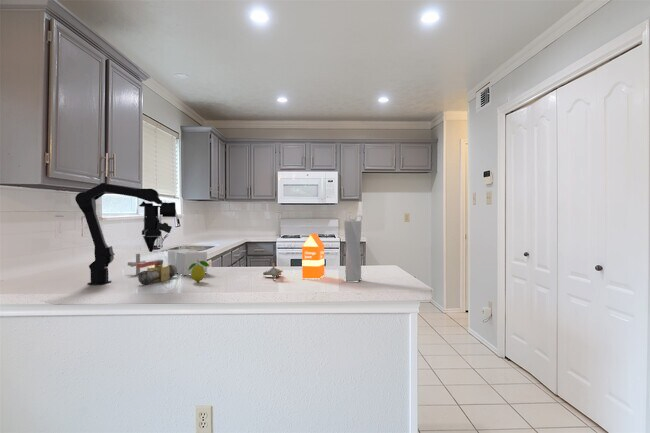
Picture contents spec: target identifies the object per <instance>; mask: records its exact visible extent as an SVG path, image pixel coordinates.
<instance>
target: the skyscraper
mask: <svg viewBox="0 0 650 433" xmlns="http://www.w3.org/2000/svg"><path fill="white" fill-rule="evenodd" d="M358 217H360V220H357V218H358ZM362 220H363V216H362V215H361V214H359V215H356V216H355V218H352V219H351V218H347V219H344V222H343V224H344V225H343V227H344V239H345V241H344V242H345V247H346V250H345V278H346V281H358V282H357V283H360V281H361V280H362V256H361V255H362V254H361V247H360V246H361V245H360V244H361V238H362ZM360 279H361V280H360ZM359 280H360V281H359Z"/></svg>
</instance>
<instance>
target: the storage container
mask: <svg viewBox="0 0 650 433" xmlns="http://www.w3.org/2000/svg"><path fill="white" fill-rule="evenodd" d="M199 261H205V262H207V263H208V251H200V250H196V249H193V250H191V249H190V248H185V249H181V248H180V249H169V250H167V265H174V266H175V267H176V269H177V273H178V274H177V273H176V274H177V275H180V274H182V275H181V276H183V275H189V274H191V271H192V269H193V268H191V269H190V270H189V267H190V266H191V265H192V264H193V263H197V264H199V265H201V264H200V262H199ZM197 264H196V265H197ZM201 266H202V267H203V268H204V271H205V272H207V273H208V266H203V265H201Z"/></svg>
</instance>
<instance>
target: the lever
mask: <svg viewBox="0 0 650 433" xmlns="http://www.w3.org/2000/svg"><path fill="white" fill-rule="evenodd" d="M156 264H163V265H164V259H156V260H151V261H146V262H145V263H139V264H137V268H140V269H141V268H148V267H152V266H155V265H156Z"/></svg>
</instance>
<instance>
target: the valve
mask: <svg viewBox="0 0 650 433" xmlns="http://www.w3.org/2000/svg"><path fill="white" fill-rule="evenodd" d="M271 265H272V268H271V269H269V270H265V271H263V274H262V276H263V275H272V276H273V277H272V279H275V280H276V277H275V276H279V275H281V276H282V273H283V270H280V269H279V268H276V267H275V263H274V262H273V263H272V264H271Z"/></svg>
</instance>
